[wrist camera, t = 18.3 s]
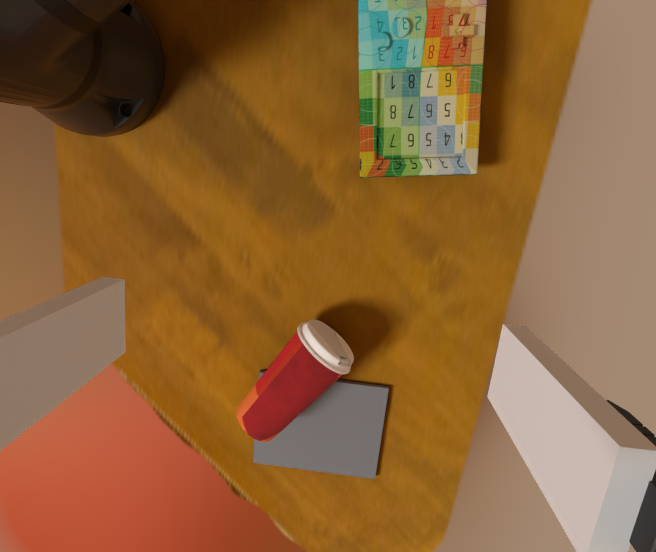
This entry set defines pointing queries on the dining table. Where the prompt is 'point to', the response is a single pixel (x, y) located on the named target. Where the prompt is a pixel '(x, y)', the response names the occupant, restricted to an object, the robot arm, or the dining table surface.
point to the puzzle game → (420, 86)
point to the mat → (332, 432)
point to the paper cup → (294, 380)
